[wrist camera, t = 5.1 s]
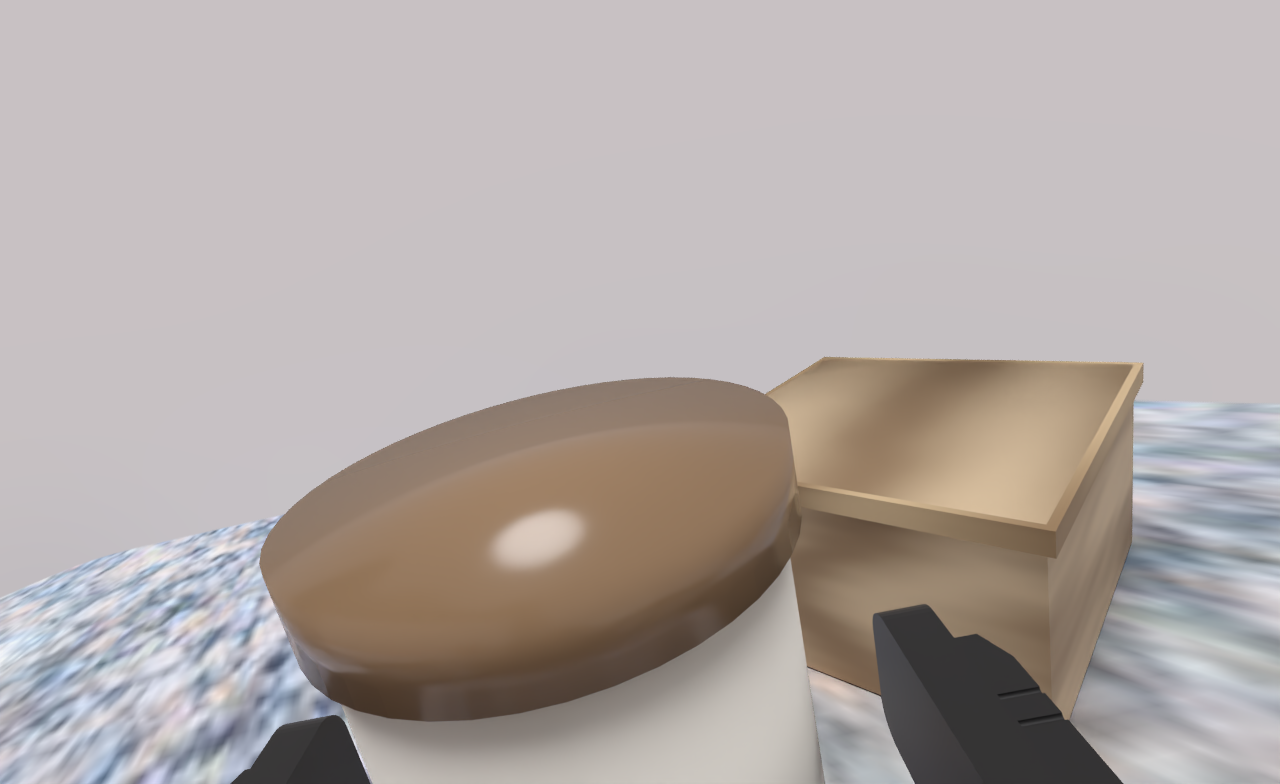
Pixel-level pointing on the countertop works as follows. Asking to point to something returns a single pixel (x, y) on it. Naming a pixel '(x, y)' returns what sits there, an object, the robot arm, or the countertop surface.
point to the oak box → (962, 505)
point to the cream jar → (562, 593)
